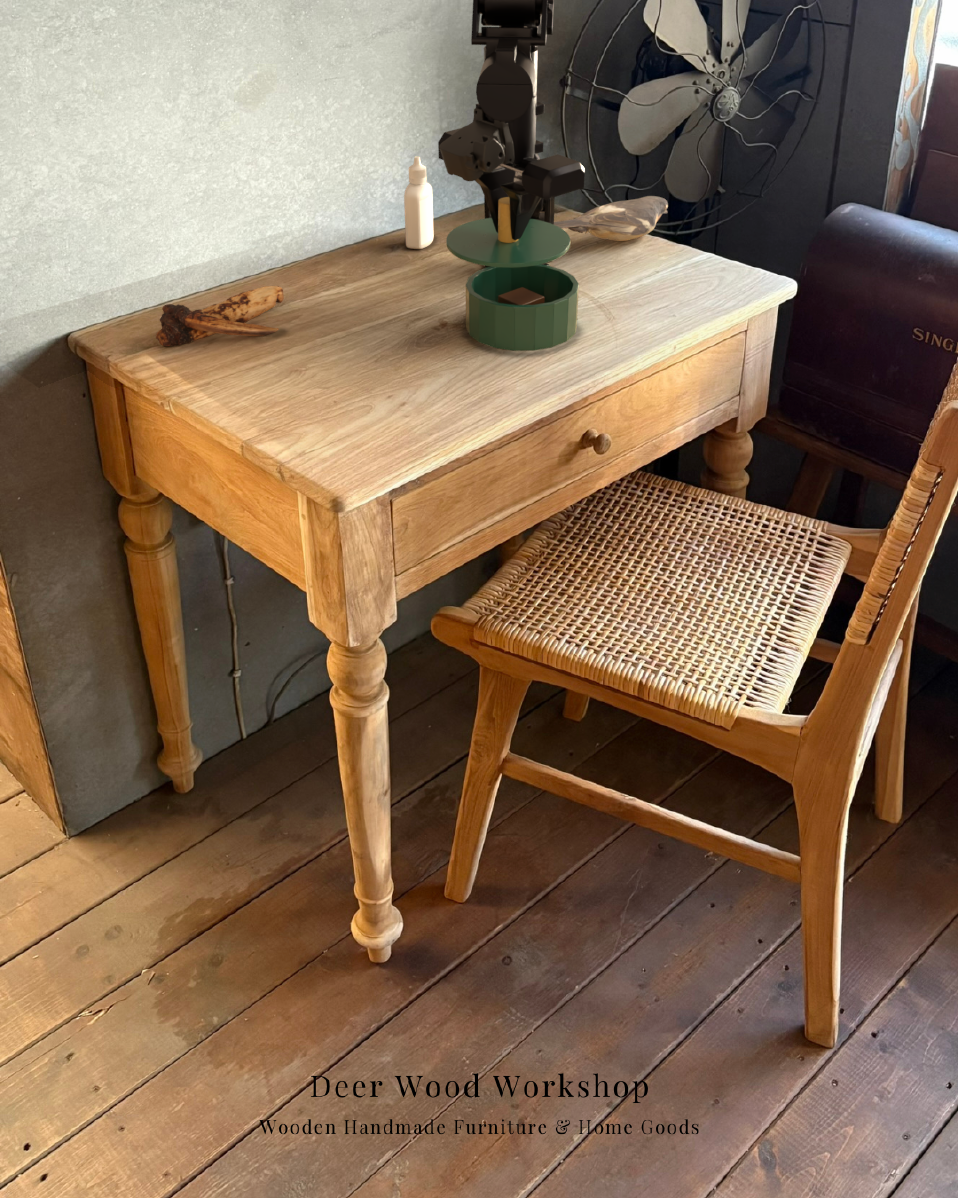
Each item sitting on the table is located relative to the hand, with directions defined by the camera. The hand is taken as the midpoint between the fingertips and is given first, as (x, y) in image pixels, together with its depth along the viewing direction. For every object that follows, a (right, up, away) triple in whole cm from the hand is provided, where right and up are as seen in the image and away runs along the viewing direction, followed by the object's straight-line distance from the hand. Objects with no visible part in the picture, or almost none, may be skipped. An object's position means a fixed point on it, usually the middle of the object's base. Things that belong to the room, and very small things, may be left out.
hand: (508, 235), depth 138 cm
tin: (+2, -9, +8) cm, 12 cm away
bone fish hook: (-34, -10, +8) cm, 36 cm away
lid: (0, -1, 0) cm, 1 cm away
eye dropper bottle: (-12, +8, +32) cm, 35 cm away
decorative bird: (+15, +8, +31) cm, 35 cm away
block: (+2, -9, +8) cm, 12 cm away
